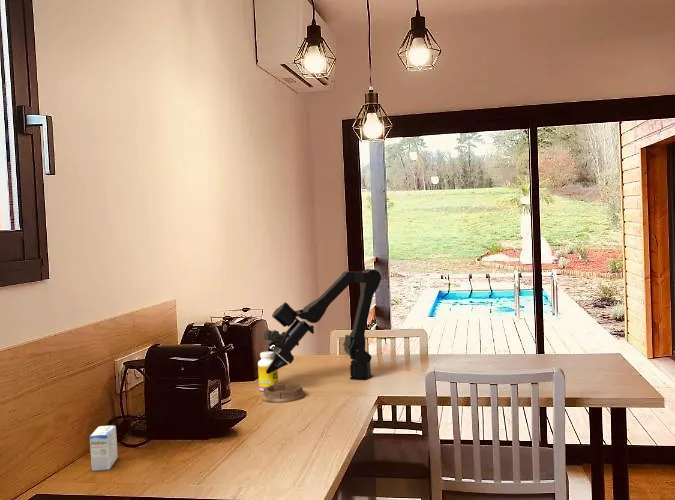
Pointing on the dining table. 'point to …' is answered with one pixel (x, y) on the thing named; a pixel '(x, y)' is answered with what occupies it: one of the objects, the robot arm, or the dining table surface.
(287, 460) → the dining table surface
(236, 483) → the dining table surface
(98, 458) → the medicine box
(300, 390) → the cup stand
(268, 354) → the supplement bottle
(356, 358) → the robot arm
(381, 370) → the dining table surface
